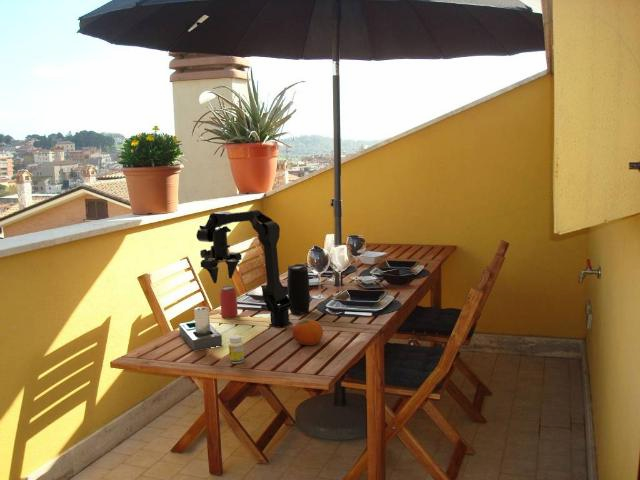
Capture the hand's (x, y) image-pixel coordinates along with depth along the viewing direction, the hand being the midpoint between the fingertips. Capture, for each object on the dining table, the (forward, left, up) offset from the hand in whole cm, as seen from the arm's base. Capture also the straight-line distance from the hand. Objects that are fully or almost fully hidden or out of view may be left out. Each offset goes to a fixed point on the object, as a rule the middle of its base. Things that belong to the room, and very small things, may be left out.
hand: (222, 280), depth 256 cm
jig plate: (-13, +28, -15) cm, 34 cm away
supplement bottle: (-39, +38, -15) cm, 57 cm away
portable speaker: (-25, -17, -15) cm, 34 cm away
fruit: (-50, +13, -15) cm, 54 cm away
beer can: (-2, 0, -15) cm, 15 cm away
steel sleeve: (-17, +30, -15) cm, 38 cm away
